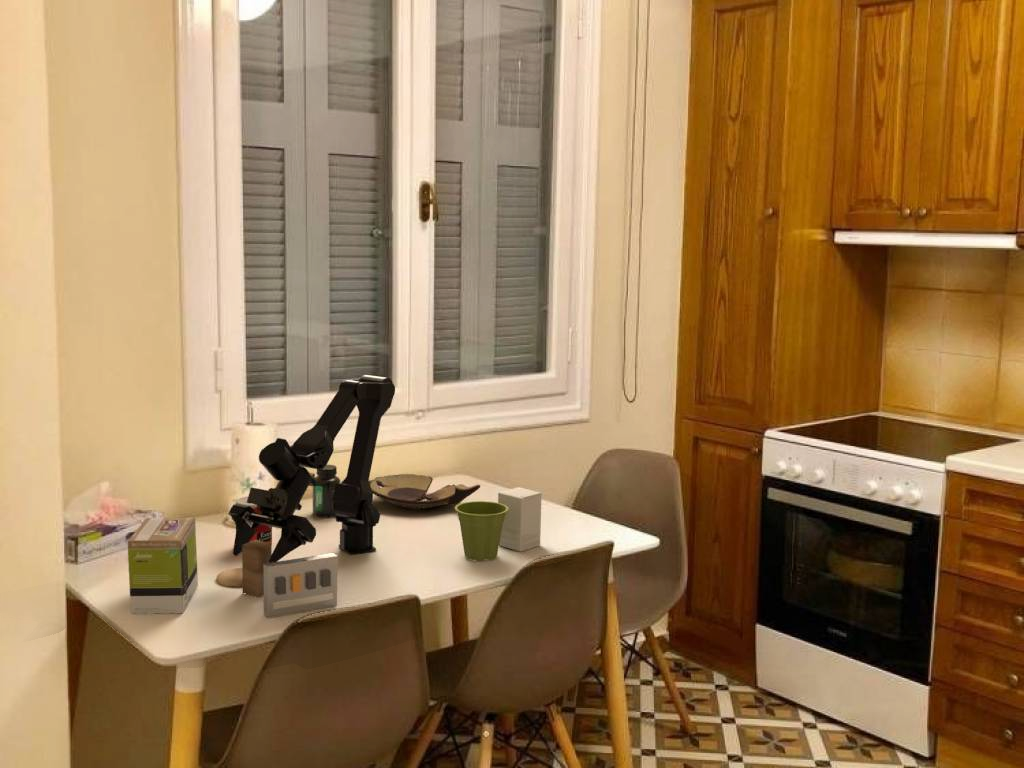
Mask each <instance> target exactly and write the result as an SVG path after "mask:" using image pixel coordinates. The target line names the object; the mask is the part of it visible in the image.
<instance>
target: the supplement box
mask: <svg viewBox="0 0 1024 768" xmlns="http://www.w3.org/2000/svg"><path fill="white" fill-rule="evenodd" d="M542 494H543V493H542V492H539V491H535V490H532V489H528V488H523V487H520V486H518V487H514V488H510V489H506V490H502V491H500V492H499V491H498V493H497V503H501V504H504V505H506V506H507V507H508V508H509V509H508V511H507V512H506V514H505V520H504V522H503V526H502V531H501V537H500V542H499V547H504V548H506V549H510V550H514V551H517V552H523V551H527V550H530V549H534V548H536V547H539V546H541V528H542V527H541V524H542Z"/></svg>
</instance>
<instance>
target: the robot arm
mask: <svg viewBox="0 0 1024 768" xmlns="http://www.w3.org/2000/svg"><path fill="white" fill-rule="evenodd" d="M395 393H396V386H395V384H394V383H393V380H392V379H391V378H390V377H384V376H377V375H368V374H364V375H361V377H360V378H358V379H357V378H355V379H346V380H343V381H341V382H340V384H339V387H338V391H337V392H336V393H335V395H334V397H333V398H332V400H331V401H330V402H329V404H328V405H327V407H326V408H325V410H324V411H323V413H322V414H321V415H320V418H319V419H318V420H317V421H316V423H315V424H314V426H313V427H311V428H310V429H307V430H305V431H304V432H303V433H301V435H299V436H298V438H297V439H296V440H295V441H294V442H293V444H292V445H290V444H289V442H288V441H287V439H286V438H282V437H277V438H276V439H275V442H271V443H269V444H267V445H266V446H265V447H263V448H262V449H261V450H260V452H259V455H258V461H259V463H260V464H261V465H262V467H264V468H265V470H266V471H267V472H268V473H269V474H270V475H271V476H272V478H273V479H274V480H276V481H278V483H277V484H276V486H275V487H270V488H268V489H262V488H257V487H250V489H249V493H248V495H247V497H248V499H247V503H249V504H250V503H252V504H255V505H257V507H256V508H257V509H258V510H259V511H261V512H262V513H261V514H257V513H256V512H255V511H254V510H253V509H252V508H251V507H250V506H247V505H242V504H238V503H237V504H236V503H234V504H233V505H232V506H231V508H230V509H229V511H228V513H227V514H228V515H229V517H231V520H232V521H233V523H234V524H235V538H234V541H233V549H232V555H233V556H234V557H238V556H239V555H240V553H242V552H241V551H242V545H243V544H246V543H248V542H249V541H250V540H251V539H252V537H253V536H254V535H255V533H256V532H255V531H254V530H255V529H256V528H258V527H259V525H260V524H261V525H266V526H271V527H272V528H277V529H280V530H281V531H280V538H279V540H278V541H277V544H276V545H275V547H274V549H273V551H272V555H271V557H270V560H269V563H272V562H278V561H281V559H282V558H284V557H285V556H287V555H288V554H289V553H291V552H293V551H294V550H296V549H297V548H299V547H301V546H306V545H307V543H313V542H314V540H315V538H316V536H317V529H316V527H315V526H314V525H313V524H312V523H311V521H310V520H308V518H307V517H305V516H301V515H300V516H299V515H296V514H295V512H296V511H301V509H302V507H303V505H302V504H301V503H300V502H301V501H302V499H303V497H304V495H305V493H306V491H307V490H308V488H309V487H312V488H313V487H316V486H317V482H316V479H315V477H316V475H315V473H313V472H310V471H309V470H308V468H309V469H314V470H317V469H323V468H324V467H325V466H326V465H328V463H329V462H330V460H331V457H332V455H333V452H334V451H335V449H334V447H335V446H334V441H335V439H336V437H337V436H338V434H339V433H340V431H341V429H342V428H343V426H344V425H345V423H346V421H347V420H348V419H349V417H350V416H351V414H352V413H353V411H354V410H355V408H357V410H358V416H357V423H356V428H355V433H354V438H353V442H352V447H351V452H350V458H349V463H348V468H347V472H346V476H345V478H344V479H343V480H341V483H336V485H335V489H334V495H333V498H332V501H333V503H332V508H333V511H334V515H335V516H334V517H335V518H334V519H335V521H336V522H337V523H341V529H339V544H338V547H339V549H341V550H343V551H344V552H345V553H347V554H349V555H355V554H362V553H366V552H367V553H368V552H374V551H377V548H376V547H375V546H374V542H373V541H374V527H375V526H377V524H379V522H380V518H381V513H380V511H379V510H378V509H377V508H376V506H375V504H373V499H374V494H373V492H372V489H371V487H370V484H369V481H370V475H371V469H372V466H373V460H374V455H375V452H376V451H375V450H376V445H377V441H378V435H379V430H380V425H381V419H382V417H383V416H384V415H385V414H386V413H387V411H388V410H389V409H390V408H391V406H392V402H393V400H394V396H395ZM266 520H267V521H266Z"/></svg>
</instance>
